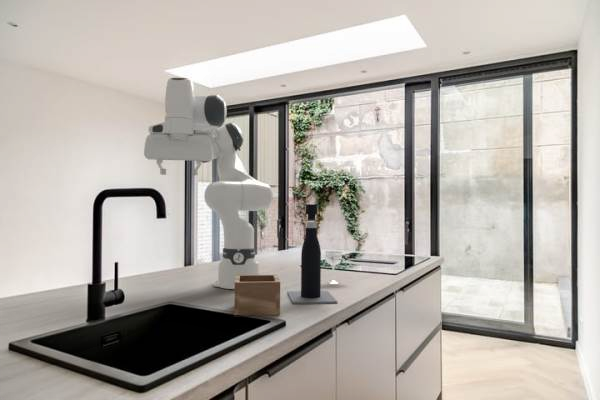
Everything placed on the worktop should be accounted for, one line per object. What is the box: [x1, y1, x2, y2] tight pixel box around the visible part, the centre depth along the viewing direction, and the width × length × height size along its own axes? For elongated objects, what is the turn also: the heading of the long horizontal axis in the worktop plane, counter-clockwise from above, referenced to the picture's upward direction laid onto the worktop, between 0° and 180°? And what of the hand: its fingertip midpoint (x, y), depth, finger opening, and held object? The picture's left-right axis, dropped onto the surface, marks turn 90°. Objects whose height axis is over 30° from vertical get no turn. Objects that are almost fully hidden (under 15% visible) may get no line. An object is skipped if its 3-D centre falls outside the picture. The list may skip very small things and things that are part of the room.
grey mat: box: [287, 290, 338, 305], centre depth 135 cm, size 16×14×1 cm
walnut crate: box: [233, 274, 281, 317], centre depth 119 cm, size 12×12×9 cm
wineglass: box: [324, 250, 343, 284], centre depth 163 cm, size 7×7×12 cm
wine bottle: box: [300, 203, 322, 298], centre depth 135 cm, size 6×6×30 cm
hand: (179, 174), depth 126 cm, fingers open, 8 cm apart
